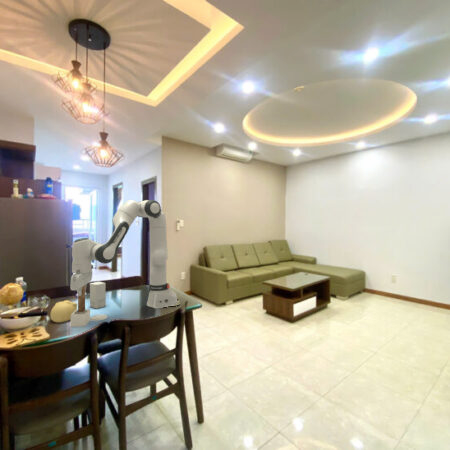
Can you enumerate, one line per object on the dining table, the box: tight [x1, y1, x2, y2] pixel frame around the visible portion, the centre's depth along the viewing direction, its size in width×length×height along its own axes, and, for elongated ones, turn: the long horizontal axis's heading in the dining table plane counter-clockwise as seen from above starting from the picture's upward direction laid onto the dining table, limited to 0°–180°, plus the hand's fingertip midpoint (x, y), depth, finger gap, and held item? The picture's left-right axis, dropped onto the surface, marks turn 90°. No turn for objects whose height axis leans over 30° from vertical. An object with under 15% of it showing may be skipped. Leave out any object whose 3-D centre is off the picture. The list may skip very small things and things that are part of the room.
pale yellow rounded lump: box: [50, 299, 78, 324], centre depth 135 cm, size 11×12×11 cm
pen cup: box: [70, 308, 91, 328], centre depth 130 cm, size 7×7×7 cm
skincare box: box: [89, 281, 107, 310], centre depth 158 cm, size 8×7×16 cm
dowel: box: [77, 286, 86, 312], centre depth 130 cm, size 3×3×15 cm
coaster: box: [90, 314, 108, 322], centre depth 139 cm, size 9×9×1 cm
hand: (81, 294), depth 130 cm, fingers closed on dowel, 3 cm apart
